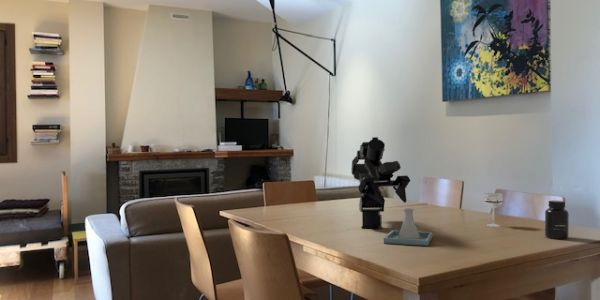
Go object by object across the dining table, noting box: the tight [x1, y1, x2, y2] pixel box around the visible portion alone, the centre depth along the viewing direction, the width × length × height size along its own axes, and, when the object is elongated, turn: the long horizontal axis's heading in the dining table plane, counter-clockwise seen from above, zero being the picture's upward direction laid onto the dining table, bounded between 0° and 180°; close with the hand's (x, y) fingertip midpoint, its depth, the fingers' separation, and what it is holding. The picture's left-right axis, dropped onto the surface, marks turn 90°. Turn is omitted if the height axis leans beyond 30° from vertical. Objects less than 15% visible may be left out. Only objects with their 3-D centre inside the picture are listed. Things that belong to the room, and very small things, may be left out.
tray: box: [383, 229, 433, 247], centre depth 153 cm, size 14×14×2 cm
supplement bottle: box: [544, 200, 570, 240], centre depth 154 cm, size 7×7×12 cm
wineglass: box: [483, 192, 504, 228], centre depth 177 cm, size 7×7×12 cm
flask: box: [398, 207, 420, 240], centre depth 153 cm, size 7×7×10 cm
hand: (394, 202), depth 160 cm, fingers open, 9 cm apart
